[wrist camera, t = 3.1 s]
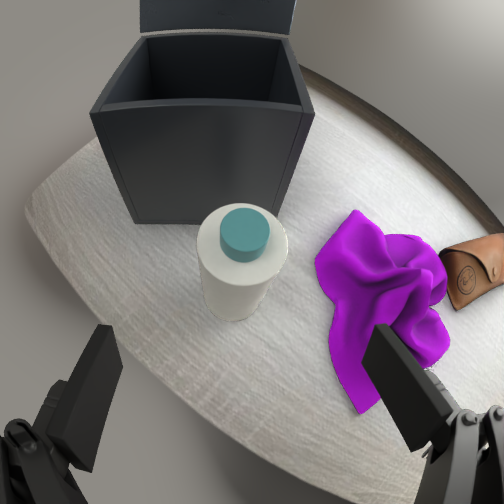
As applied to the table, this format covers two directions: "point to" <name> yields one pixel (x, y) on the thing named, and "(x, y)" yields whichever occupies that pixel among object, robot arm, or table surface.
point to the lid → (217, 15)
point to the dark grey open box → (203, 124)
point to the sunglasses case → (473, 268)
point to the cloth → (380, 299)
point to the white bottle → (239, 258)
